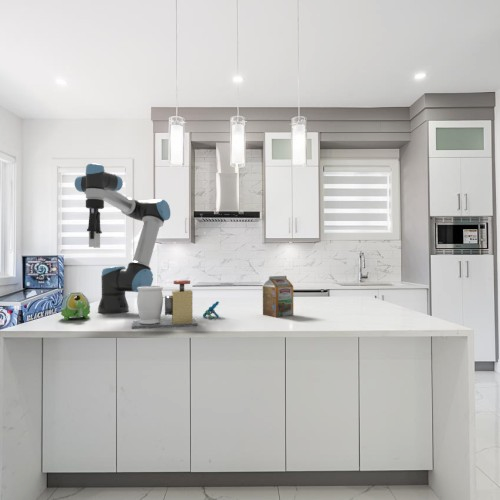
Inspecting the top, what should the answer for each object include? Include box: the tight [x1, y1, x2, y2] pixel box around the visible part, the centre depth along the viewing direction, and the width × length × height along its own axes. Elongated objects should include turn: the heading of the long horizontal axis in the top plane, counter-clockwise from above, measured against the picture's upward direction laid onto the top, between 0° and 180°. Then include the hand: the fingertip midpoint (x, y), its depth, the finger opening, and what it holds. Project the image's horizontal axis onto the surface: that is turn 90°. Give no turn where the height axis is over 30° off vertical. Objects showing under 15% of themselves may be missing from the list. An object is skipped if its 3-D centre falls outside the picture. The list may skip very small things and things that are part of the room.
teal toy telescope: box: [202, 301, 220, 319], centre depth 183 cm, size 11×6×10 cm
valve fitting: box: [131, 279, 199, 330], centre depth 164 cm, size 13×26×18 cm, turn 104°
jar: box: [136, 285, 164, 324], centre depth 163 cm, size 11×10×15 cm
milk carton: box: [262, 275, 294, 318], centre depth 190 cm, size 11×11×19 cm
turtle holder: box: [60, 291, 91, 322], centre depth 179 cm, size 12×18×12 cm
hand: (94, 247), depth 173 cm, fingers open, 13 cm apart
